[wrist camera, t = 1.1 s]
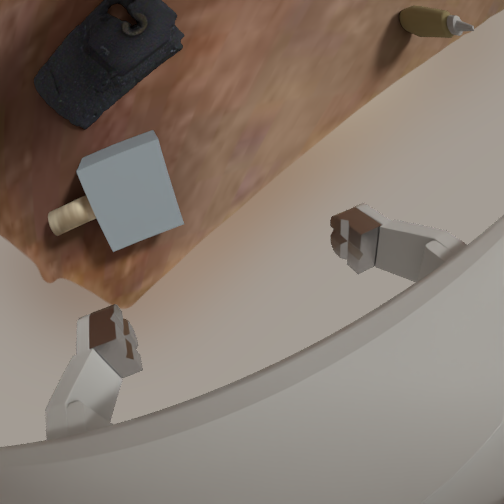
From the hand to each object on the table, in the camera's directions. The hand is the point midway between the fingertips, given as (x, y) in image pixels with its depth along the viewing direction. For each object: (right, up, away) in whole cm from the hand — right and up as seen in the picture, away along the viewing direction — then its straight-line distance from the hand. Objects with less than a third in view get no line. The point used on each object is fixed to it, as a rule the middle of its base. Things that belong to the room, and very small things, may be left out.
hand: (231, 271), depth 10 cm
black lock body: (-21, +30, +21) cm, 42 cm away
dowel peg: (-26, +8, +31) cm, 41 cm away
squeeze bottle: (+36, +53, +33) cm, 72 cm away
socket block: (-19, +12, +34) cm, 41 cm away
